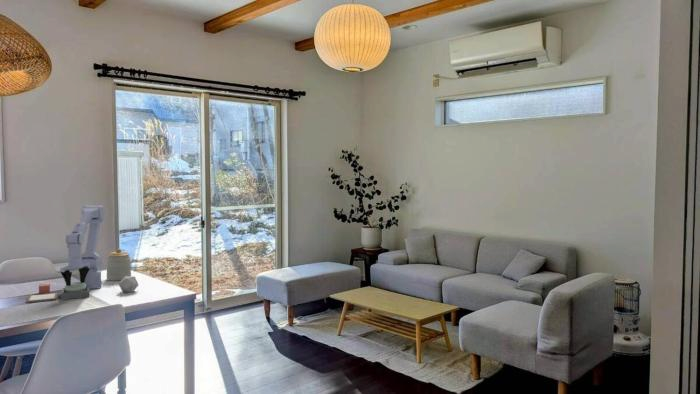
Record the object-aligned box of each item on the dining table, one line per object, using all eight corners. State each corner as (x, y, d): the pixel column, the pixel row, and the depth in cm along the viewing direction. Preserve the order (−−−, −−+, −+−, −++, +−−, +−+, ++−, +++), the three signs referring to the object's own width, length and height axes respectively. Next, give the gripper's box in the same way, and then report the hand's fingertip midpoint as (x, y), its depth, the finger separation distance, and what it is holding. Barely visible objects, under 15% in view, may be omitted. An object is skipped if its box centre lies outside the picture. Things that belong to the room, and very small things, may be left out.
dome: (86, 287, 247) (86, 281, 247) (86, 291, 239) (85, 284, 238) (65, 289, 242) (65, 282, 242) (64, 293, 234) (64, 286, 234)
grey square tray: (89, 291, 249) (89, 285, 249) (89, 296, 238) (89, 290, 238) (62, 293, 243) (62, 288, 243) (61, 299, 232) (61, 293, 232)
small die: (50, 292, 247) (49, 283, 246) (49, 294, 243) (49, 285, 243) (39, 293, 245) (39, 284, 244) (38, 295, 241) (38, 286, 240)
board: (57, 294, 242) (57, 292, 242) (56, 300, 232) (56, 298, 231) (29, 297, 236) (29, 295, 236) (26, 302, 226) (26, 301, 226)
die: (125, 295, 243) (138, 279, 246) (112, 286, 245) (125, 270, 247) (132, 297, 251) (144, 282, 254) (119, 288, 252) (131, 273, 255)
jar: (124, 281, 272) (124, 250, 271) (102, 281, 272) (101, 250, 271) (135, 276, 285) (135, 246, 284) (113, 276, 285) (113, 246, 284)
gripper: (82, 254, 248) (83, 280, 249) (55, 258, 235) (56, 286, 235) (92, 255, 245) (92, 281, 246) (65, 259, 232) (66, 287, 232)
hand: (75, 283), depth 240 cm, fingers open, 7 cm apart
